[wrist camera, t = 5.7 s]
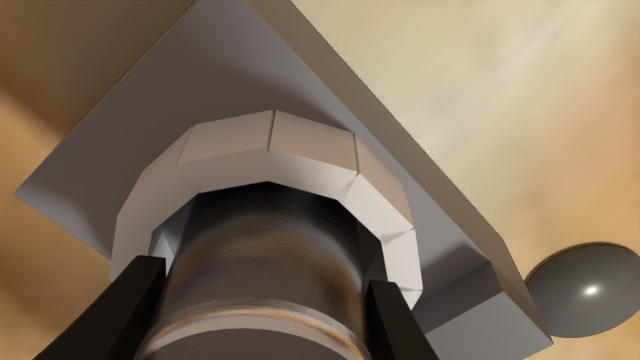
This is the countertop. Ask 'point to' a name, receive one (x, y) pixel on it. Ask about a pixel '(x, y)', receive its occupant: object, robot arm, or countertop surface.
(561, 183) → the countertop surface
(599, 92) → the countertop surface
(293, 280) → the lens
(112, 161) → the camera body
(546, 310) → the lens cap
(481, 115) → the countertop surface
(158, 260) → the robot arm
